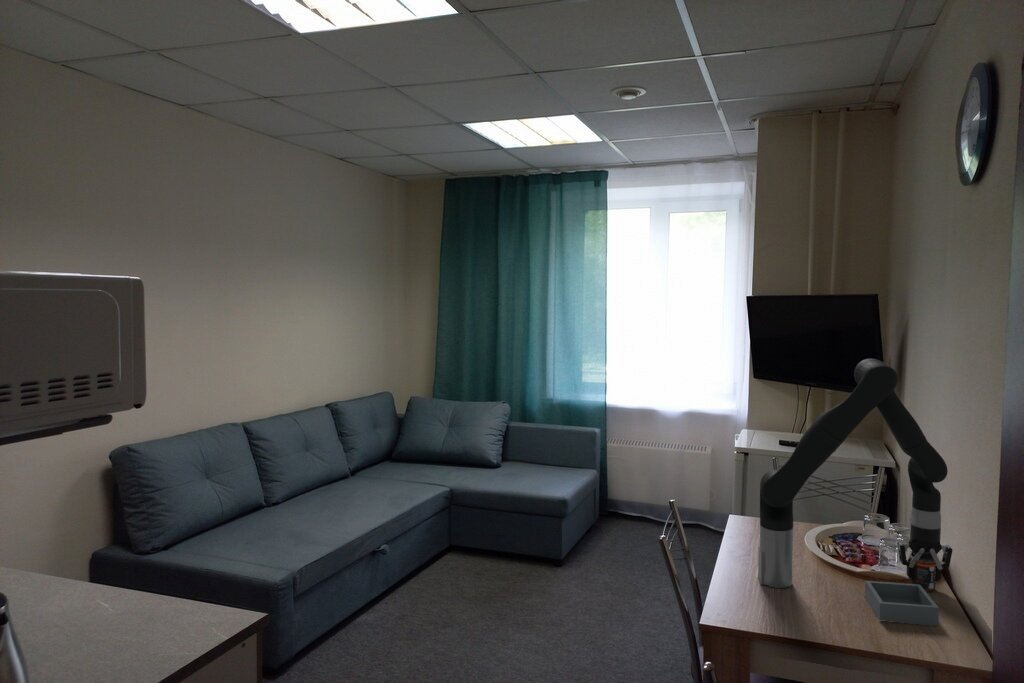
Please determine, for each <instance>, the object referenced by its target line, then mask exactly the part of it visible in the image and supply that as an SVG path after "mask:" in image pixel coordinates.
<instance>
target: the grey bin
mask: <svg viewBox="0 0 1024 683" xmlns="http://www.w3.org/2000/svg"><path fill="white" fill-rule="evenodd" d="M864 587H865V588H864V599H865V600H866V602H867V604H868V603H869V604H868V605H869V607H870V606H871V607H870V609H871V608H872V609H873V610H872V609H871V610H872V612H873V611H874V612H873V614H874V613H875V614H876V615H875V614H874V615H875V616H877V617H878V618H877V617H876V618H877V620H878V619H879V620H885V621H893V622H900V623H899V624H904V623H908V624H907V625H916V624H919V625H920V626H929V627H930V626H931V627H933V626H934V627H939V616H940V615H939V614H940V613H939V612H940V607H939V606H938V605H937V604H936V602H935V601H934V600H933V598H931V596H930V594H928V592H926V591H925V590H924V589H923V588H922V586H921V585H919V584H912V583H903V582H902V583H901V582H890V581H887V582H885V581H875V580H874V581H873V580H865V582H864ZM879 620H878V621H879ZM919 625H918V626H919Z"/></svg>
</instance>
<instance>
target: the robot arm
mask: <svg viewBox="0 0 1024 683" xmlns="http://www.w3.org/2000/svg"><path fill="white" fill-rule="evenodd" d="M853 377H854V380H855V383H857V386H856V387H855V388H854V389H853V390H852V392H851V393H850V394H849V395H848V397H846V399H844V400H843V401H842V402H840V403H838V404H837V405H835V406H834V407H833V406H832V408H830V409H828V410H826V411H825V412H823V413H822V414H821V415H819V416H818V417H817V418H816V420H814V422H812V424H810V426H809V427H808V428H807V430H805V432H804V433H803V434H802V436H801V438H800V439H799V441H798V443H797V445H796V447H795V449H794V450H793V452H792V454H791V456H790V457H789V458H788V459H787V461H786V462H785V463H784V465H782V467H780V468H779V469H778V470H777V469H774V470H770V471H768V472H766V473H764V475H763V476H762V477H761V479H760V483H759V546H758V556H757V557H758V560H757V561H758V563H757V564H758V566H757V568H758V570H757V576H758V581H759V583H760V585H761V586H762V585H764V586H766V585H767V586H766V587H771V588H775V589H785V588H790V587H791V586H792V584H793V557H794V556H793V555H794V553H793V551H794V549H793V548H794V547H793V546H794V510H793V509H794V506H793V505H794V504H793V503H794V502H793V501H794V499H795V497H796V496H797V494H798V493H799V492H800V491H801V489H802V488H803V486H805V483H806V482H807V481H808V479H809V478H810V477H811V476H812V475H813V474H814V473H815V472H816V471H817V470H818V469H819V468H820V467H821V466H822V465H823V464H824V463H825V462H826V461H827V460H828V459H829V458H830V457H831V456H832V455H833V454H834V453H835V451H836V450H838V449H839V447H840V446H841V445H842V444H843V443H844V442H845V441H846V439H847V438H848V437H849V436H850V434H852V433H853V431H854V430H855V429H856V428H857V427H858V426H859V425H860V423H861V422H862V421H863V420H864V419H865V418H866V417H867V416H868V415H869V414H870V413H871V412H872V411H873V410H874V409H876V408H877V409H878V412H880V414H881V416H882V417H883V420H884V422H885V423H886V424H887V426H888V428H889V430H890V432H891V434H892V436H893V437H894V439H895V440H896V442H897V444H898V446H899V447H900V449H901V451H902V452H903V453H904V454H905V455H908V456H909V457H910V458H909V460H908V464H907V473H908V478H909V482H910V487H911V490H912V502H911V503H912V504H911V511H910V519H909V520H910V527H909V528H910V529H909V530H910V532H909V533H910V534H909V541H908V542H906V543H905V542H904V543H902V542H900V541H898V543H897V550H898V557H899V562H900V563H901V564H902V565H903V566H906V575H907V577H908V578H909V580H910V581H912V580H914V568H913V567H914V565H915V563H916V562H917V561H918V560H919V558H920V557H921V555H922V554H923V552H930V553H931V555H932V558H933V559H934V561H935V563H936V580H935V583H936V582H938V583H939V582H940V581H941V579H942V570H943V569H948V568H950V567H951V566H950V564H951V559H952V555H953V551H954V550H953V548H952V547H951V546H949V545H948V544H946V545H942V544H941V536H942V535H941V534H942V533H941V532H942V531H941V530H942V529H941V528H942V514H941V501H942V496H941V495H942V494H941V492H940V491H939V489H937V487H936V486H935V485H934V483H937V484H938V483H941V482H943V481H944V480H945V479H946V478H947V476H948V467H947V466H948V465H947V464H946V461H945V459H944V458H943V457H942V456H941V455H940V453H939V452H938V451H937V449H936V448H935V447H934V446H933V445H932V444H931V443H930V442H929V441H928V439H927V438H926V435H925V433H924V432H923V430H922V428H921V427H920V426H919V424H918V422H917V421H916V420H915V418H914V417H913V415H912V414H911V412H910V411H909V410H908V409H907V407H906V406H905V405H904V404H903V402H902V401H901V400H900V397H899V396H898V395H897V394H896V392H895V390H896V387H897V386H898V383H899V382H898V381H899V378H898V377H899V376H898V373H897V372H896V370H895V369H894V368H893V367H891V366H890V365H888V364H886V363H885V362H883V361H882V360H879V359H877V358H866V359H863V360H861V361H860V362H858V363H857V364H856V367H855V368H854V372H853ZM908 549H910V550H911V552H910V554H909V557H908V559H907V553H906V552H907V551H908ZM940 551H941V552H942V559H941V561H940V559H939V557H938V555H937V554H938V553H939V552H940Z"/></svg>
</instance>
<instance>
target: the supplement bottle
mask: <svg viewBox="0 0 1024 683" xmlns="http://www.w3.org/2000/svg"><path fill="white" fill-rule="evenodd" d="M913 568H914V580H911V584H919V585H921V586H922V588H923V589H924V590H925V591H926V592H927V593H931V592H933V591H935V589H936V581H935V580H936V563H935V561H934V559H933V558H932V555H931V553H930V552H923V554H922V555H921V557H920V558H919V560H918V561H917V562H916V563H915V565H914V567H913Z"/></svg>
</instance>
